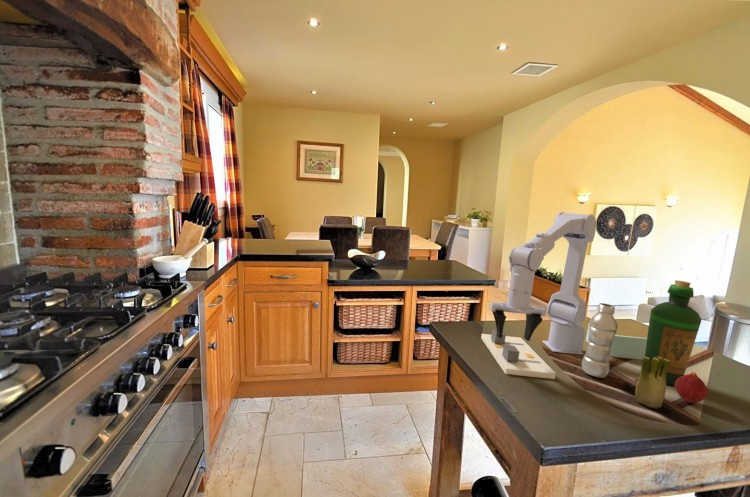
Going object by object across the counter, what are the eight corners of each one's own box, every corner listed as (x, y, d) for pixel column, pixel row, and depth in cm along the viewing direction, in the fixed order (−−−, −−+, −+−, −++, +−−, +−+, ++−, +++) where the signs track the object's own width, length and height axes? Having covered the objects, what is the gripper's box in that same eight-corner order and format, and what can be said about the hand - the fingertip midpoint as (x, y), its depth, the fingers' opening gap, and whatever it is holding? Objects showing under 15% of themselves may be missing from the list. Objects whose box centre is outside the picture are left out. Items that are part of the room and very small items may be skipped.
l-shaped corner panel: (645, 361, 108) (650, 339, 107) (607, 357, 108) (611, 335, 107) (619, 345, 120) (623, 325, 119) (585, 342, 120) (589, 322, 119)
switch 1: (500, 339, 110) (501, 330, 109) (504, 344, 106) (505, 335, 105) (490, 338, 110) (492, 329, 109) (494, 343, 106) (496, 334, 105)
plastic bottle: (603, 372, 97) (616, 304, 94) (611, 383, 90) (625, 310, 87) (577, 366, 99) (590, 300, 96) (583, 377, 92) (596, 306, 89)
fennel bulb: (633, 404, 81) (643, 356, 79) (631, 395, 85) (640, 349, 83) (664, 414, 78) (675, 364, 76) (660, 404, 82) (671, 357, 80)
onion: (709, 411, 81) (717, 380, 80) (682, 406, 82) (689, 375, 81) (692, 398, 86) (699, 368, 85) (666, 393, 87) (673, 364, 86)
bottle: (675, 392, 89) (699, 287, 85) (630, 372, 98) (649, 277, 94) (693, 385, 94) (717, 286, 90) (648, 366, 103) (668, 276, 99)
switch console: (520, 341, 114) (520, 337, 113) (555, 379, 90) (556, 373, 90) (481, 337, 114) (481, 333, 114) (505, 373, 90) (506, 367, 90)
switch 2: (512, 355, 98) (514, 345, 97) (517, 362, 94) (519, 351, 93) (502, 354, 98) (503, 344, 97) (506, 361, 94) (508, 350, 93)
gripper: (498, 291, 89) (491, 340, 91) (554, 297, 89) (545, 346, 91) (490, 285, 96) (483, 331, 98) (542, 290, 96) (534, 336, 98)
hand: (512, 337), depth 95 cm, fingers open, 7 cm apart
